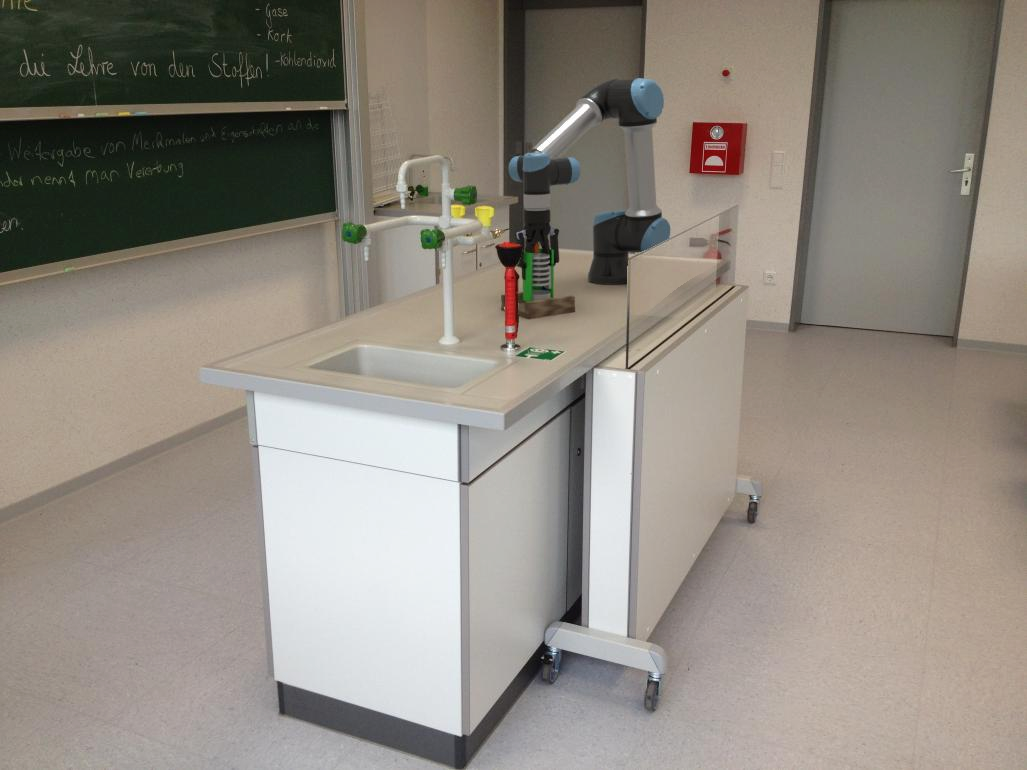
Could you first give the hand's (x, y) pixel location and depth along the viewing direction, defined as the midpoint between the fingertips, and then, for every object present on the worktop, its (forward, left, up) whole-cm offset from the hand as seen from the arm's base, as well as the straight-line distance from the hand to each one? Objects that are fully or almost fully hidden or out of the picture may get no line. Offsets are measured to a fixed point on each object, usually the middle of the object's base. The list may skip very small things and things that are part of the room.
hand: (537, 289), depth 281 cm
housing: (0, 0, -6) cm, 6 cm away
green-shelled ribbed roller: (0, 0, -3) cm, 3 cm away
